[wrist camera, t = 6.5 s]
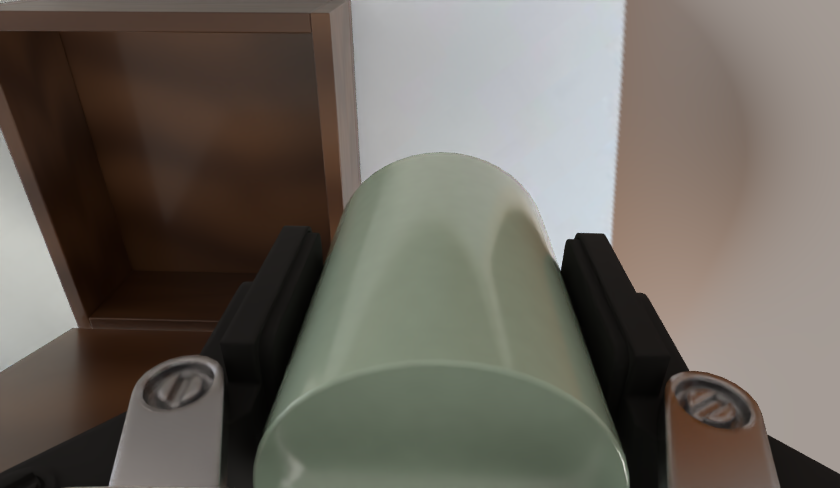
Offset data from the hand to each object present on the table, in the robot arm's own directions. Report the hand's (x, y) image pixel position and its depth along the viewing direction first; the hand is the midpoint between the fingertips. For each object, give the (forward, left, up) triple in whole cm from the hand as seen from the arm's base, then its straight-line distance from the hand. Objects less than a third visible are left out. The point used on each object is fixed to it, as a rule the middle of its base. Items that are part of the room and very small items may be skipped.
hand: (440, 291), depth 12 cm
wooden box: (-3, -13, -19) cm, 23 cm away
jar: (0, 0, -2) cm, 2 cm away
